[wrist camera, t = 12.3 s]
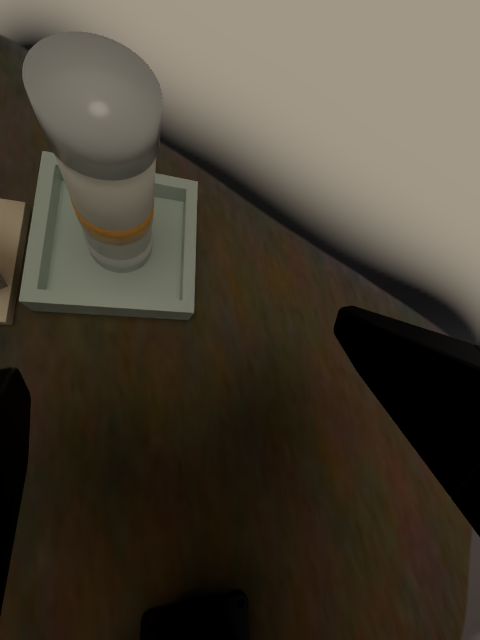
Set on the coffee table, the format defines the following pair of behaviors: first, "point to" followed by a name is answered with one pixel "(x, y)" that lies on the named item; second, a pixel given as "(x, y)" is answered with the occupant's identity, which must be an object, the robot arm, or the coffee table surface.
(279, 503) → the coffee table surface
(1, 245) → the fuse holder
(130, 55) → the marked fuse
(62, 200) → the tray
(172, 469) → the coffee table surface
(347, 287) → the coffee table surface
